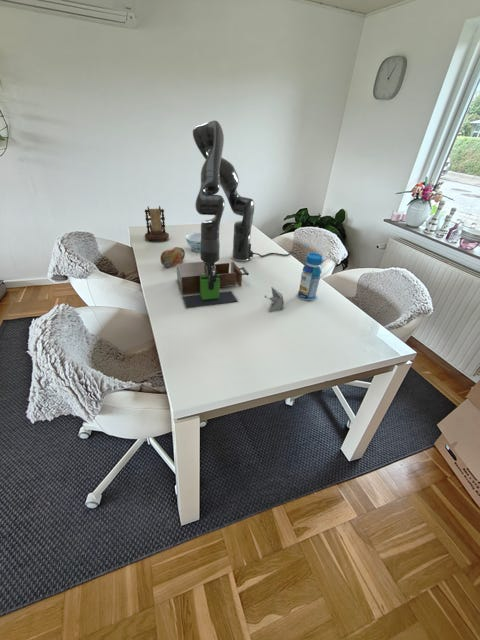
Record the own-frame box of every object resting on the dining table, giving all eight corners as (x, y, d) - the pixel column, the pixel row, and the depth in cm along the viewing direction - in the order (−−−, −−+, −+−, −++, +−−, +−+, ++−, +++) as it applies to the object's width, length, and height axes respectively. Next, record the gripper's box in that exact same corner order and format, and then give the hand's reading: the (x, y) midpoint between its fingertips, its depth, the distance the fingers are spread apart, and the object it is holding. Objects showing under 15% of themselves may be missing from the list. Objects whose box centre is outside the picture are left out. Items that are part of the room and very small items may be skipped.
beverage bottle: (315, 302, 135) (325, 260, 124) (297, 299, 136) (304, 257, 125) (315, 293, 142) (324, 253, 131) (297, 291, 143) (305, 250, 132)
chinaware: (216, 249, 182) (216, 236, 177) (201, 256, 171) (201, 243, 167) (197, 243, 188) (197, 231, 184) (181, 250, 177) (180, 237, 173)
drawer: (241, 273, 154) (242, 260, 150) (250, 285, 143) (251, 272, 139) (204, 276, 148) (204, 263, 144) (211, 289, 138) (211, 275, 134)
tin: (164, 269, 154) (162, 253, 150) (160, 267, 156) (158, 252, 151) (185, 261, 164) (184, 246, 160) (181, 259, 166) (180, 244, 161)
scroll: (146, 243, 183) (142, 209, 171) (143, 235, 194) (139, 203, 183) (171, 241, 187) (168, 208, 176) (166, 234, 199) (164, 202, 188)
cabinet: (208, 277, 150) (208, 261, 145) (216, 291, 138) (216, 274, 134) (177, 280, 145) (176, 263, 140) (182, 294, 134) (181, 277, 129)
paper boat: (286, 311, 125) (266, 306, 122) (280, 317, 130) (260, 312, 128) (287, 286, 130) (267, 281, 127) (280, 293, 135) (262, 288, 133)
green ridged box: (216, 293, 134) (217, 272, 128) (219, 298, 130) (219, 277, 125) (200, 295, 131) (199, 274, 126) (202, 299, 128) (202, 278, 123)
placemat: (230, 291, 138) (230, 291, 138) (236, 301, 131) (237, 300, 131) (183, 297, 132) (183, 296, 132) (186, 307, 125) (186, 306, 125)
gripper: (224, 254, 114) (222, 293, 124) (214, 241, 125) (214, 278, 135) (204, 255, 112) (205, 295, 122) (196, 242, 123) (197, 280, 133)
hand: (209, 286), depth 128 cm, fingers closed on green ridged box, 4 cm apart
